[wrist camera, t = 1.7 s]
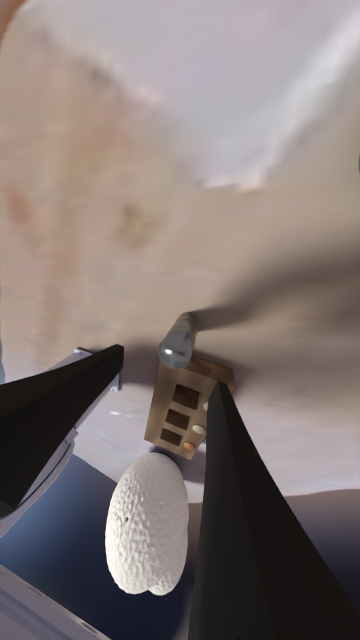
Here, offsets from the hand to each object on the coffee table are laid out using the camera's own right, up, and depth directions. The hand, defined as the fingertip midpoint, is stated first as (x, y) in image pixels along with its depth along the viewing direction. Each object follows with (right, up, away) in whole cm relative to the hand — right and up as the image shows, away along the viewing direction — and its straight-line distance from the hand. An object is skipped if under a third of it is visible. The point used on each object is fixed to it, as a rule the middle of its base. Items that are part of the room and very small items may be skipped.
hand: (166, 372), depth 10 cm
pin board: (+1, -12, +15) cm, 19 cm away
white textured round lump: (-3, -33, +25) cm, 41 cm away
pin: (+2, +3, +8) cm, 9 cm away
